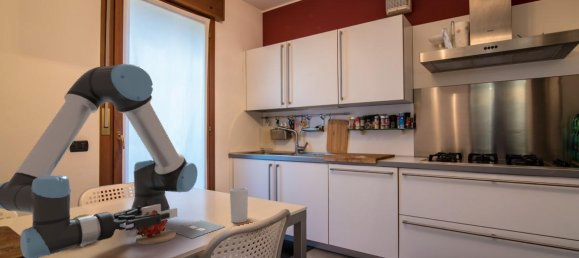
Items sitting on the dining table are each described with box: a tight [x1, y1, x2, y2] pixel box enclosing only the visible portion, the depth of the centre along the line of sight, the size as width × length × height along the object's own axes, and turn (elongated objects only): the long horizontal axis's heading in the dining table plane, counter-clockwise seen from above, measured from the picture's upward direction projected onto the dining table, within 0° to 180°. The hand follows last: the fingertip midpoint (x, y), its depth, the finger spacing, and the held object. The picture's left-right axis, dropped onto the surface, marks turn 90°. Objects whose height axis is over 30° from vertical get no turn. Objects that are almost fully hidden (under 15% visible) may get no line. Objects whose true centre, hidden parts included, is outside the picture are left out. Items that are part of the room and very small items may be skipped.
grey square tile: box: [169, 219, 226, 239], centre depth 107 cm, size 14×14×1 cm
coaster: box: [135, 229, 177, 245], centre depth 99 cm, size 12×12×1 cm
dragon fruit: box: [135, 210, 169, 238], centre depth 98 cm, size 8×8×12 cm
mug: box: [229, 187, 249, 224], centre depth 118 cm, size 10×7×12 cm, turn 161°
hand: (168, 210), depth 102 cm, fingers open, 9 cm apart
